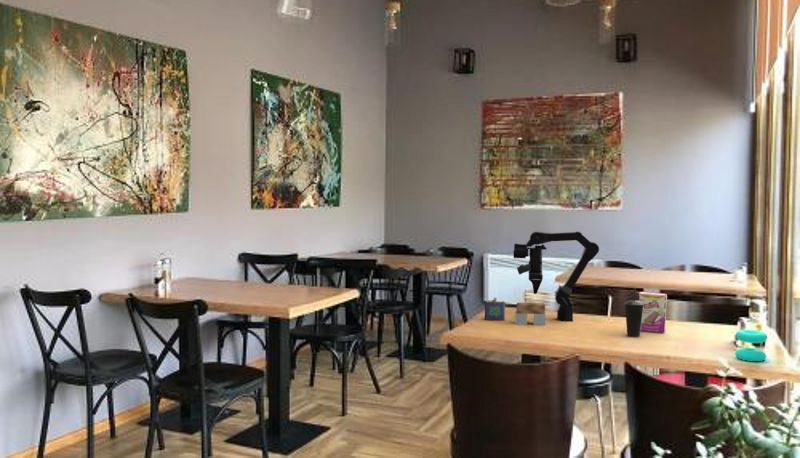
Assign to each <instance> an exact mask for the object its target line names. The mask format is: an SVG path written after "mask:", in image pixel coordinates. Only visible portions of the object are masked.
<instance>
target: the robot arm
mask: <svg viewBox="0 0 800 458" xmlns="http://www.w3.org/2000/svg"><path fill="white" fill-rule="evenodd" d="M565 241H566V242H567V241H569V242H570V241H577V242H578V243H579V244H580V245H581V246H582V247H583V251H582V254H581V256H580V259H579V261H578V262H577V263H576V264H575V265H576V266H575V267H574V269H573V270H572V272H571V273H570V275H569V277H568V278H567V280H566V282H565V283H564V284H563V285H560V284H559V285H558V288H557V289H556V291H554V299H555V302H556V303H557V304H558V305H559V306H558V309H557V310H556V311H557V312H556V313H557V314H556V319H557V320H558V322H568V323H569V322H571V323H572V322H574V308H573V306H574V304H573V302H572V300H571V299H570V298H571V295H572V291H573V288H574V287H575V285H576V284H577V282H578V280H579V279H580V277H581V275H582V274H583V272H584V271H585V269H586V267H587V265H588V264H589V263H590V262H591V261H592V260H593V259H594V258H595V257H596V256H597V254H598V253H599V252H600V247H599V245H598V244H597V243H596V242H594V241H590V240H589V239H588V238H586V236H584V235H583V234H582V233H581V231H572V232H571V231H569V232H553V233H552V232H551V233H550V232H544V231H533V232H532V233H530V236H529V240H528V241H527V242H526V243H514V245H513V247H514V248H513V259H527V258H528V257H529V260H528V263H526V264H521V265H519V266H518V267H517V266H516V270H517V272H518V275H522V274H524V273H527V272H528V280H529V281H530V282H531V284H532V290H533V294H534V295H537V293H538V291H539V289H540V286H541V284H542V282H543V279H544V277H543V276H544V275H543V251H544V250H545V251H546V250H547V247H546V246H545V244H546V243H549V242H565Z"/></svg>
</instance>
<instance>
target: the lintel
mask: <svg viewBox="0 0 800 458" xmlns="http://www.w3.org/2000/svg"><path fill="white" fill-rule="evenodd" d="M516 311H517V313H523V314H527V315H528V314H529V315H531V314H532V315H534V314H546V304H545V303H543V302H542V303H540V302H516Z"/></svg>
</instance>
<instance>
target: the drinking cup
mask: <svg viewBox="0 0 800 458" xmlns="http://www.w3.org/2000/svg"><path fill="white" fill-rule="evenodd" d="M636 292H637V291H636V287H633V299H631V300H628V301H625V302H624V308H625V319H626V321H625V323H626V324H625V325H626V336H627V337H630V338H631V337H632V338H638V337H640V333H641V331H640V328H641V320H642V312H643V305H644V303H642V302H640V301H639V300H636Z"/></svg>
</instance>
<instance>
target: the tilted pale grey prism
mask: <svg viewBox="0 0 800 458" xmlns="http://www.w3.org/2000/svg"><path fill="white" fill-rule="evenodd" d="M514 321H515V322H514V325H517V324H521V326H524V325H525V326H527V325H528V314H523V313H517V310H516V311H515V320H514Z"/></svg>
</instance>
